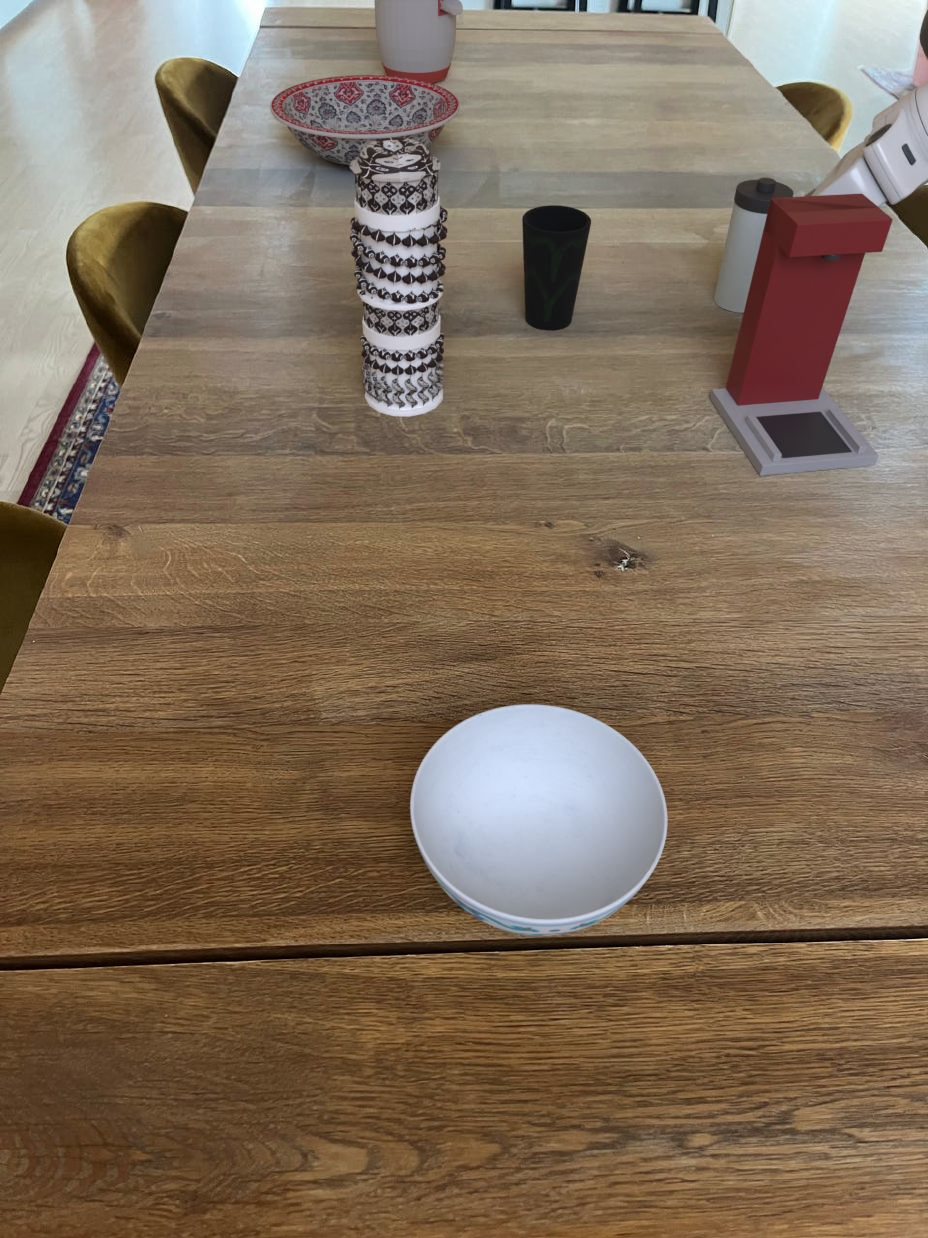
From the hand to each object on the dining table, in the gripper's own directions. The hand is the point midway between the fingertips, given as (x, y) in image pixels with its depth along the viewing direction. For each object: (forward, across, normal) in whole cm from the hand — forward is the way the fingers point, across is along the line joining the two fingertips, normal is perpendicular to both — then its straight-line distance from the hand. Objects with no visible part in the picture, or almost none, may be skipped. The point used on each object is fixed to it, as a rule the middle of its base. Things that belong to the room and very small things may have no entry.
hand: (792, 218), depth 109 cm
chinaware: (+1, +85, +14) cm, 86 cm away
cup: (+23, +17, -8) cm, 30 cm away
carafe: (+10, +1, +5) cm, 11 cm away
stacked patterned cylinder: (+27, +41, -12) cm, 50 cm away
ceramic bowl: (+58, -16, -42) cm, 73 cm away
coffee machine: (+1, +26, +14) cm, 30 cm away
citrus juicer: (+69, -57, -53) cm, 104 cm away
